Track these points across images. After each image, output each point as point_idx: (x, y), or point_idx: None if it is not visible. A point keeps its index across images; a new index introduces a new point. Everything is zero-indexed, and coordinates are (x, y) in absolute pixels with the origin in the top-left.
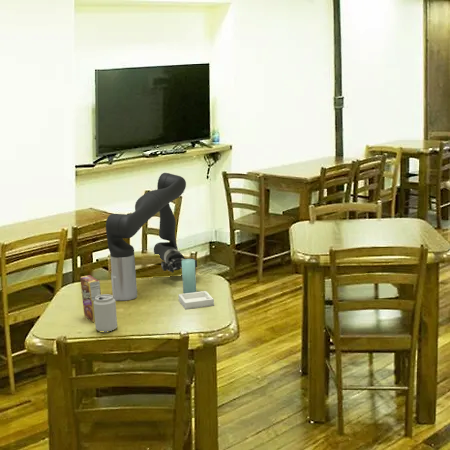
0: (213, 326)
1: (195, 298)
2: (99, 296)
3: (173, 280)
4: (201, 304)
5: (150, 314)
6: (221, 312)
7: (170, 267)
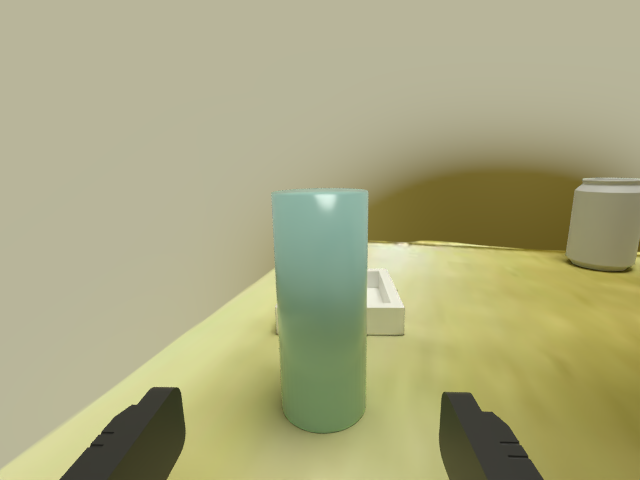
0: None
1: None
2: (636, 182)
3: None
4: None
5: (500, 288)
6: None
7: (499, 443)
